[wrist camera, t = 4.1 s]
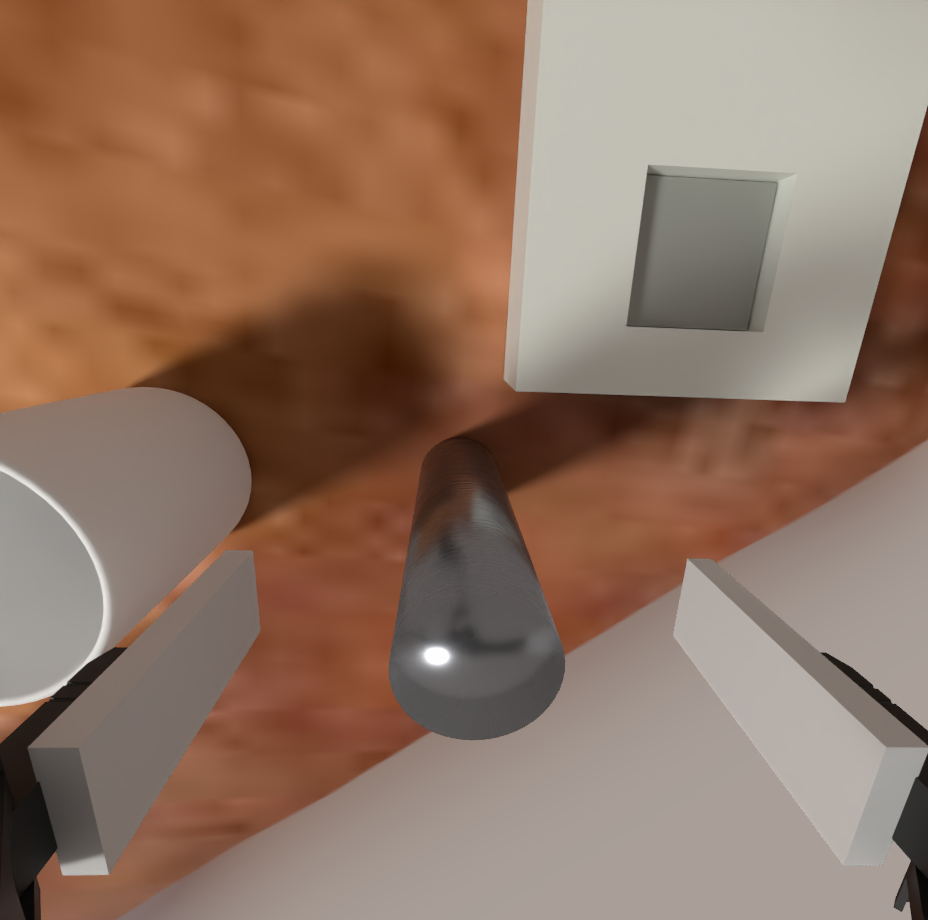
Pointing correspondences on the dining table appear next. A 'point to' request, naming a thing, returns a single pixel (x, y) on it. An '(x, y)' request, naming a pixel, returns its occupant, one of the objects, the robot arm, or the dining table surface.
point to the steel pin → (471, 606)
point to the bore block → (708, 192)
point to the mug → (104, 522)
